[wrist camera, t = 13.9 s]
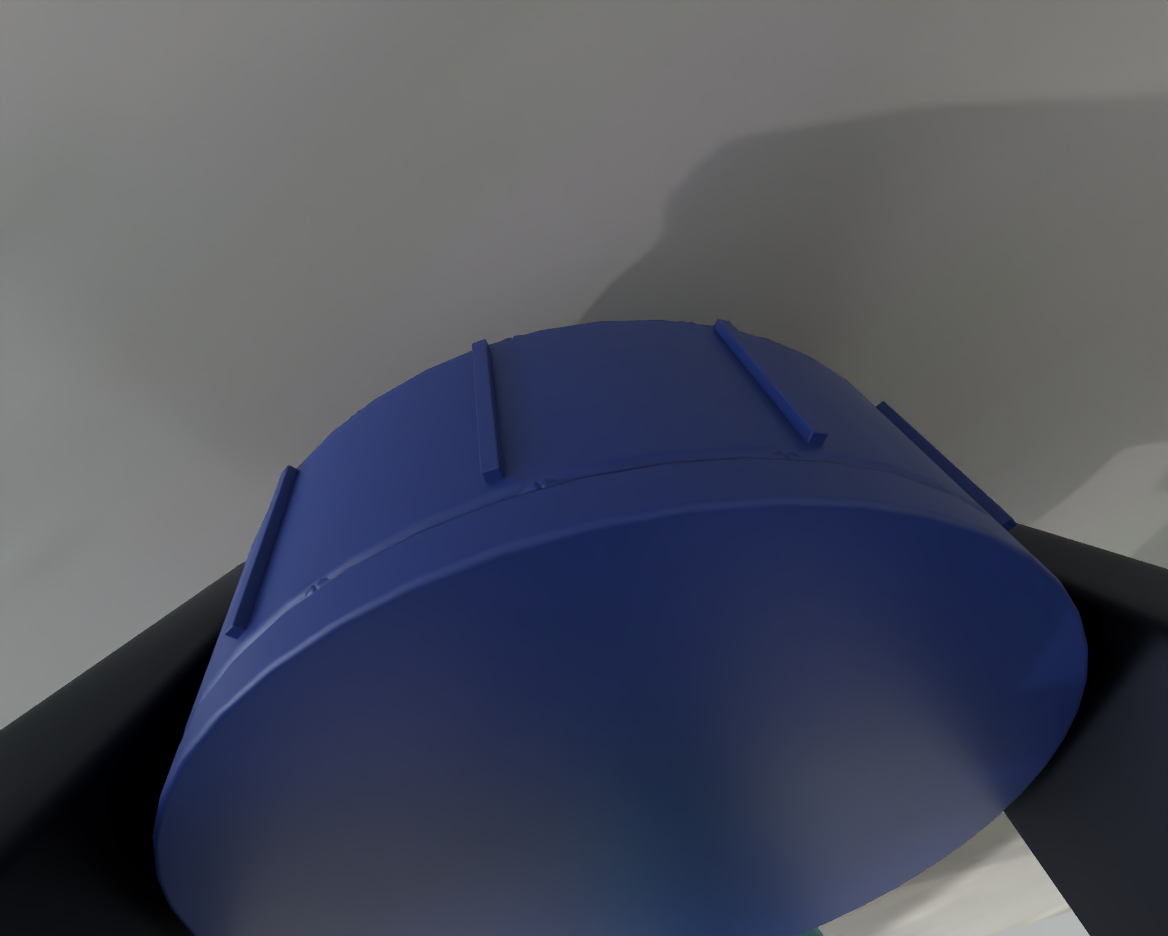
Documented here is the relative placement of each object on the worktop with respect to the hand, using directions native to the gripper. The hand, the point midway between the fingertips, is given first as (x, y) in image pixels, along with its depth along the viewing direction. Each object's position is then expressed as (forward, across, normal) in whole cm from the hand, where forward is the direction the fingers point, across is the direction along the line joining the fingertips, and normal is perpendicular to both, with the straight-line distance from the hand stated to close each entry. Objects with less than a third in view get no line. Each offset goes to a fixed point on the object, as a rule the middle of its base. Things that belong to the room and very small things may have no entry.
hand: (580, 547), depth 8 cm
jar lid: (-3, 0, 0) cm, 3 cm away
